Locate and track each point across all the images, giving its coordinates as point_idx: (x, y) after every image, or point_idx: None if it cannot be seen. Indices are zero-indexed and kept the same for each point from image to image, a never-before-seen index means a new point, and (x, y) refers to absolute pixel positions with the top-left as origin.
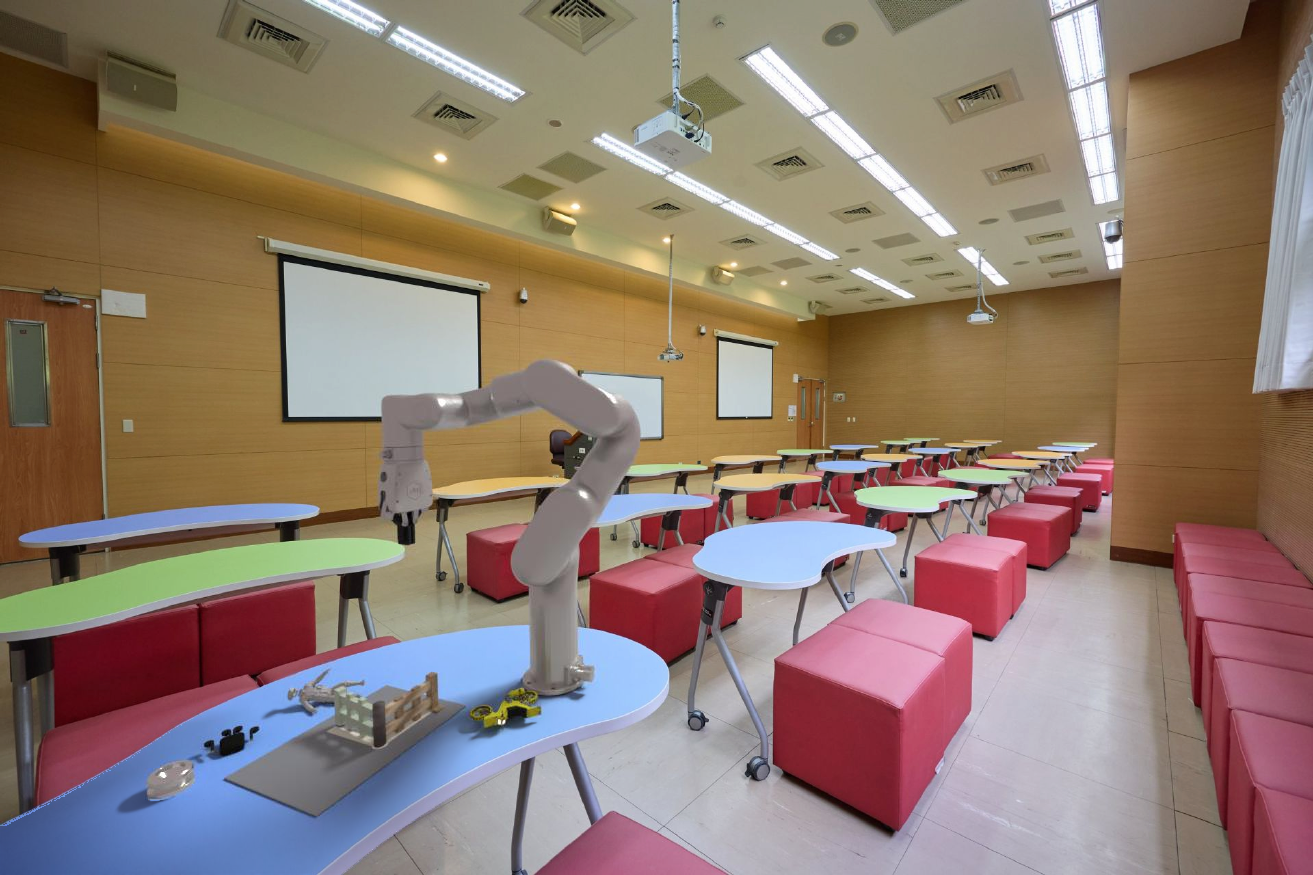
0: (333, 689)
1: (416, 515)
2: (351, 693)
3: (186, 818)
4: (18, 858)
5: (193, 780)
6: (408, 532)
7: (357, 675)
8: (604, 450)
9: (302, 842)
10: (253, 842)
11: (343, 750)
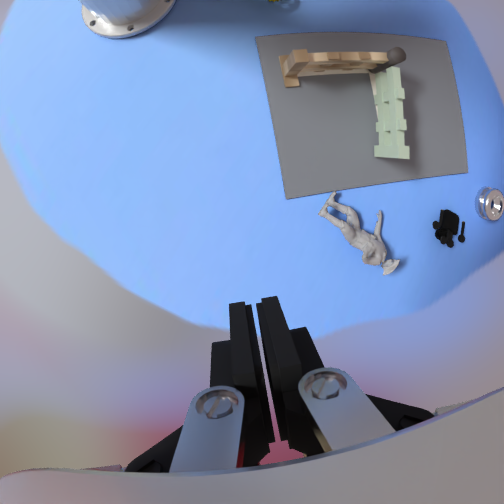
0: (354, 232)
1: (201, 443)
2: (402, 123)
3: (491, 145)
4: None
5: (479, 192)
6: (290, 334)
7: (289, 273)
8: None
9: (456, 31)
10: (475, 66)
11: None
